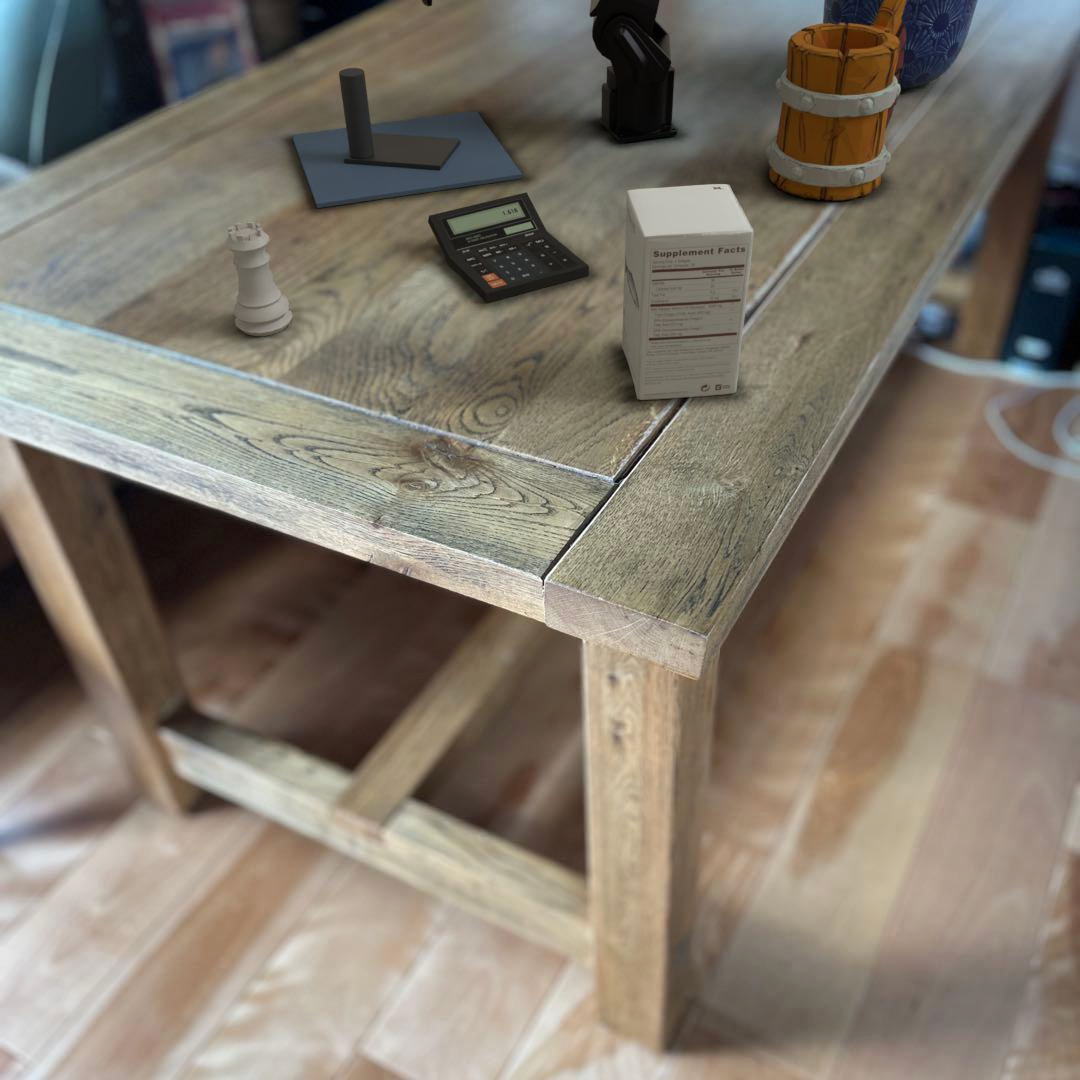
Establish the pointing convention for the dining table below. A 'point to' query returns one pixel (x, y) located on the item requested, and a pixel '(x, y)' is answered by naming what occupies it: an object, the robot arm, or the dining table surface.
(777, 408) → the dining table surface
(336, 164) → the felt mat
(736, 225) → the white packaging box
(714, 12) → the dining table surface
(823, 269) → the dining table surface
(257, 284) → the rook chess piece
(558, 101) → the dining table surface
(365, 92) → the peg stand
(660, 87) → the robot arm
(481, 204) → the calculator
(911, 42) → the planter
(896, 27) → the mug
